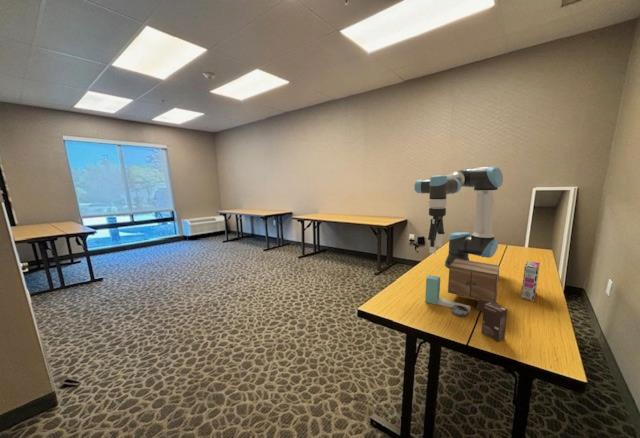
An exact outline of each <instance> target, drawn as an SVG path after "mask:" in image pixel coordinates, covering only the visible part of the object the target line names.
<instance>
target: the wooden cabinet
mask: <svg viewBox="0 0 640 438" xmlns="http://www.w3.org/2000/svg"><path fill="white" fill-rule="evenodd" d="M499 276H500V265H499V264H493V263H486V262H479V261H475V260H474V261H473V260H470V261H468V260H462V259H455V260H454V261H453V262H452V264H451V265H450V266H449V268H448V282H447V283H448V285H447V293H448V294H454V295H457V296H461V297H465V298H469V299H473V300H477V307H476V308H477V309H476V311H479V312H482V313H483V309H484V304H486V303H488V302H492V303H495V304H497V297H498V286H499Z"/></svg>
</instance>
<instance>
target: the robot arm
mask: <svg viewBox="0 0 640 438" xmlns="http://www.w3.org/2000/svg"><path fill="white" fill-rule="evenodd" d="M503 180H504V176H503V173H502V170H501V169H500V167H498V166H483V167H482V166H481V167H469V168H463V169H460V170H457V171H453V172H452V173H450V174H446V175H431V176H430V178H428V179H418V180H416V181H415V182H414V191H415V193H417V194H429V197H428V198H429V200H428V201H427V202H428V206H429V208H428V215H429V216H430V217H432V218H431V219H430V226H429V231H428V232H429V233H428V238H427V241H429V246H428V247H429V249H428V250H429V251H428V252H429V253H430V254H434V255H435V254H437V252H436V251H437V250H436V249H437V247H440V248H442V247H443V237H444V234H445V230H444V229H445V228H444V217H445V216H446V215H447V208H446V207H447V196H448V195H454V194H456V193H457V194H458V192H460V190H461V188H462V187H464V188H473V192H475V193H476V200H475V202H476V203H475V217H474V232H473V233H470V232H467V231H464V232H463V231H461V232H460V231H459V232H458V231H457V232H452V233H450V234H449V239H448V253H447V254H448V255H447V256H446V258H445V262H444V266H445V267H447V268H448V269H449V266H450V265H451V264H452V262H453V261H454V260H455V259H462V260H468V261H471V260H470V258H469V255H472V256H478V257H482V258H487V259H488V258H489V259H490V258H492V257H493V256H494V255H496V252H497V250H498V247H499V241H498V239H495V235H494V234H493V233H492V232H493V231H492V230H493V229H492V228H493V216H494V215H493V214H494V200H495V199H494V197H495V193H496V192H498V188H500V187H502V185H503Z"/></svg>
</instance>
